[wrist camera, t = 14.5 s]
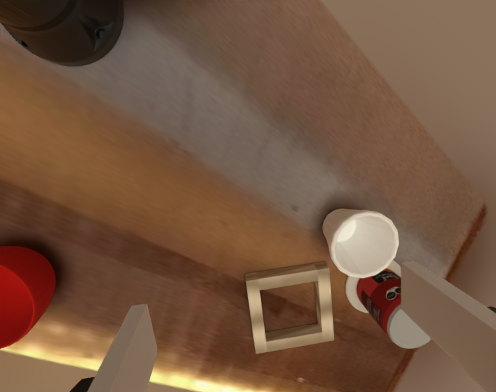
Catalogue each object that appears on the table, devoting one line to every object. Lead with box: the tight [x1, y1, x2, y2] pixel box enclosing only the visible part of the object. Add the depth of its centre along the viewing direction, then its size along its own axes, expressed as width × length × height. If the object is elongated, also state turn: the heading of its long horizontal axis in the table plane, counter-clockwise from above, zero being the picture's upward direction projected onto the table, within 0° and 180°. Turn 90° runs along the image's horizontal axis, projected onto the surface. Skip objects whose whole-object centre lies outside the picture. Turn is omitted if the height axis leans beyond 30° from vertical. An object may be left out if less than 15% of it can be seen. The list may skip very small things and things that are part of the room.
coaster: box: [345, 260, 401, 313], centre depth 52 cm, size 11×11×1 cm
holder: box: [245, 262, 334, 354], centre depth 51 cm, size 14×14×2 cm
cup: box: [322, 209, 399, 278], centre depth 45 cm, size 10×10×9 cm
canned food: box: [356, 268, 431, 349], centre depth 47 cm, size 8×8×11 cm
